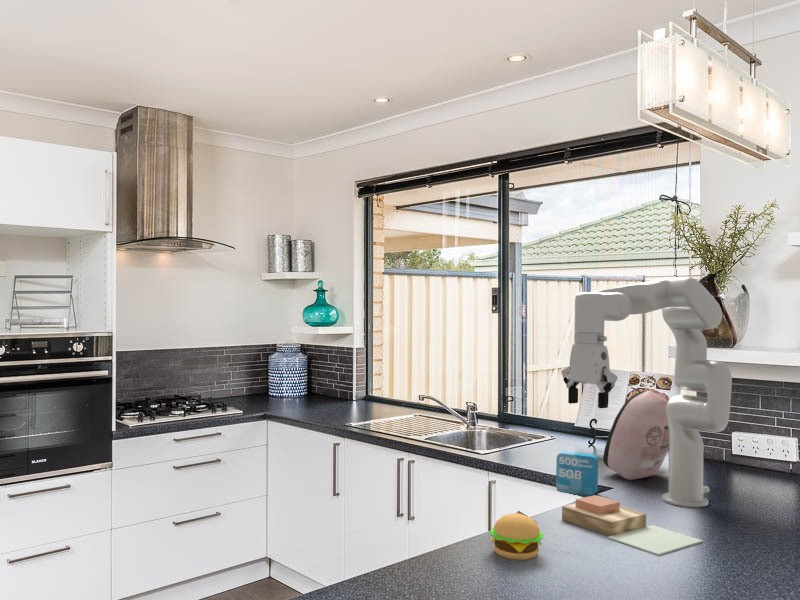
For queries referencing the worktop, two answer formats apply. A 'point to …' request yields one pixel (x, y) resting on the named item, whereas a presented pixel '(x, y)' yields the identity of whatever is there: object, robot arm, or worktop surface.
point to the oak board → (605, 519)
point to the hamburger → (516, 537)
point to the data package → (577, 473)
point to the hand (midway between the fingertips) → (587, 405)
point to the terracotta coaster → (597, 504)
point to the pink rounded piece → (638, 437)
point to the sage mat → (655, 540)
